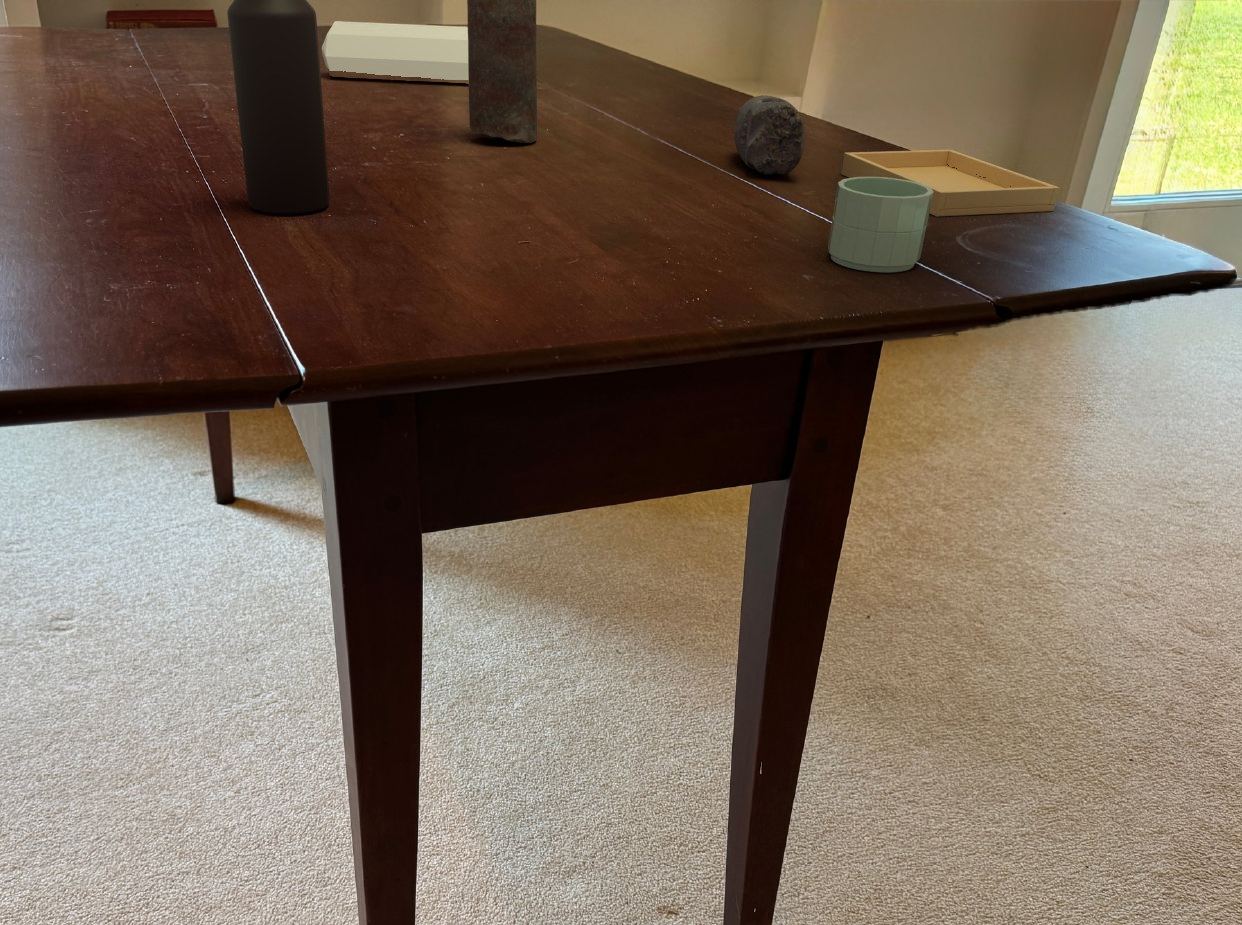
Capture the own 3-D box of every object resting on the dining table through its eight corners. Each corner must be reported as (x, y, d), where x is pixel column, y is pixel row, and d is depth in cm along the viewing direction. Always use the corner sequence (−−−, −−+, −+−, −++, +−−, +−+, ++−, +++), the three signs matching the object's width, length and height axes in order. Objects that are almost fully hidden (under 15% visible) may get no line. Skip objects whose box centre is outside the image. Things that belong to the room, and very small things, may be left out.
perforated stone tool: (720, 152, 120) (728, 82, 116) (768, 153, 120) (777, 83, 117) (749, 183, 107) (758, 106, 104) (802, 184, 107) (813, 107, 104)
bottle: (231, 209, 93) (199, -64, 83) (280, 193, 98) (255, -66, 88) (299, 220, 91) (275, -61, 80) (345, 203, 96) (328, -62, 86)
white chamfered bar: (494, 48, 160) (332, 41, 163) (487, 25, 153) (318, 18, 155) (490, 100, 161) (328, 92, 163) (482, 79, 154) (314, 71, 156)
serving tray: (946, 170, 115) (950, 149, 114) (1053, 211, 101) (1059, 187, 100) (840, 174, 112) (844, 152, 111) (936, 216, 98) (941, 192, 97)
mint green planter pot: (888, 246, 89) (901, 175, 86) (935, 271, 83) (951, 195, 80) (811, 250, 87) (822, 178, 84) (854, 275, 82) (867, 199, 79)
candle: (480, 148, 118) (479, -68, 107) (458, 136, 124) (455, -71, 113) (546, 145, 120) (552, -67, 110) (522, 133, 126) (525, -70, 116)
